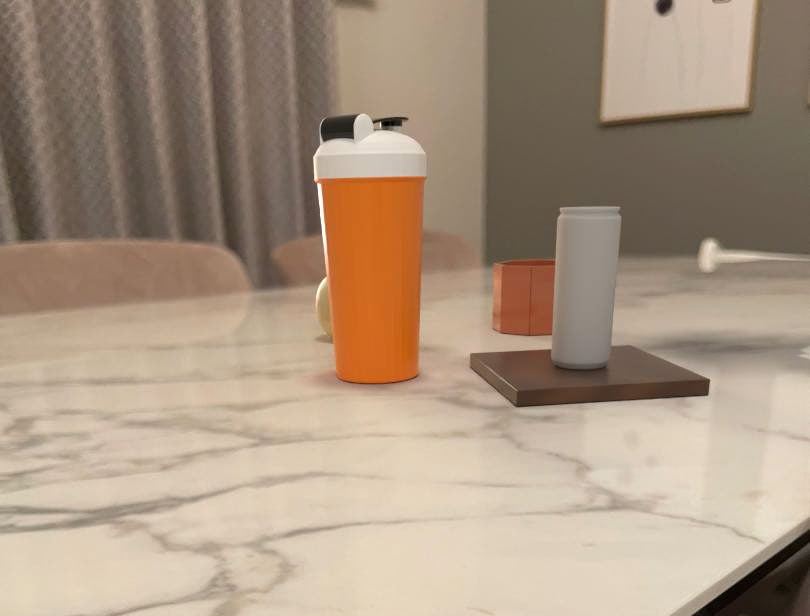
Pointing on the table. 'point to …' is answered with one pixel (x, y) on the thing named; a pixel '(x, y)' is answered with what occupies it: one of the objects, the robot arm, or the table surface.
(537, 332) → the crock
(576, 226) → the beverage can
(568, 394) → the board
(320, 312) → the apple
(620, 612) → the table surface
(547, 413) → the table surface
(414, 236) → the shaker bottle
